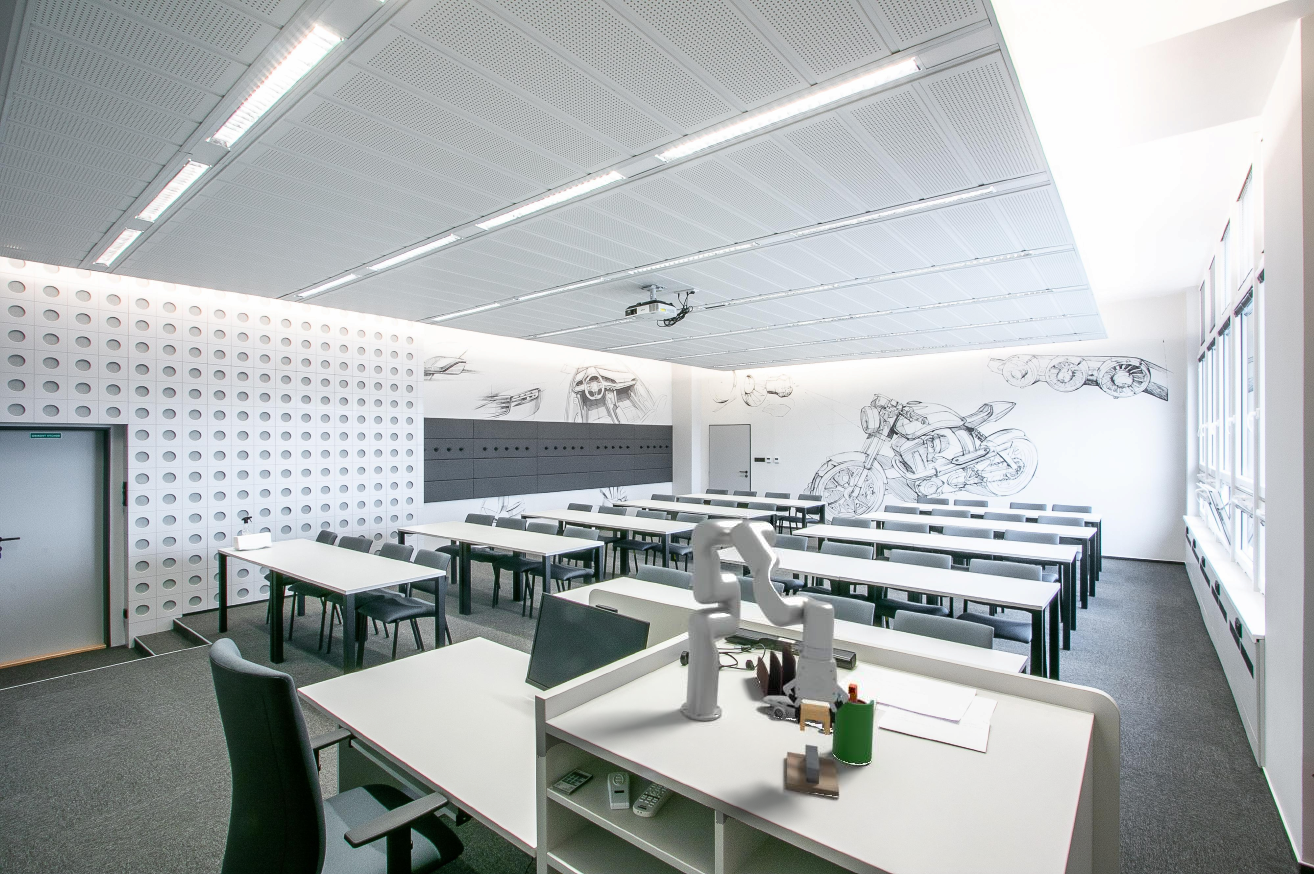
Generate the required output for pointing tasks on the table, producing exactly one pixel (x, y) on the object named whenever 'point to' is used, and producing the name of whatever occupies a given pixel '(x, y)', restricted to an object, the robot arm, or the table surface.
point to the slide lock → (815, 715)
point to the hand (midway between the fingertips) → (814, 722)
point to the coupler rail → (812, 764)
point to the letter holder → (777, 673)
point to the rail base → (798, 775)
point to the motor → (853, 729)
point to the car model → (784, 708)
